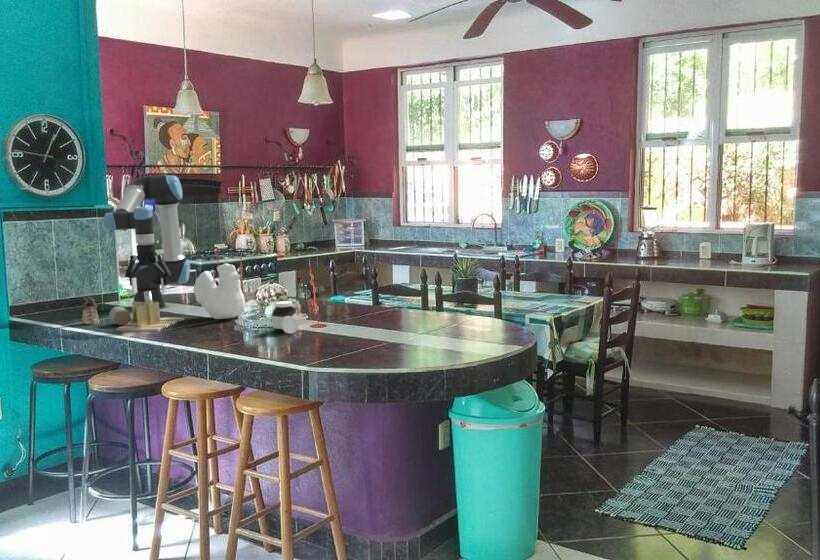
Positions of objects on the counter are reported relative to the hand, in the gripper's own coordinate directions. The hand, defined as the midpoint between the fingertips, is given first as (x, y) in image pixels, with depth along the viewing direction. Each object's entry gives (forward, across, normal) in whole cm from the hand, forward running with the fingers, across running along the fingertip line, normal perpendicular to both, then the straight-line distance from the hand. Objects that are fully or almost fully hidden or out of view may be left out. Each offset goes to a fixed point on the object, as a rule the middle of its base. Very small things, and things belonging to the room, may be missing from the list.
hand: (149, 293), depth 333 cm
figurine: (+14, -32, +5) cm, 35 cm away
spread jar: (+14, +65, -12) cm, 68 cm away
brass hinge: (+13, -4, -3) cm, 14 cm away
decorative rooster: (+14, +24, +18) cm, 33 cm away
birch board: (+14, -1, +1) cm, 14 cm away
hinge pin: (+13, 0, 0) cm, 13 cm away
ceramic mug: (+14, -16, +4) cm, 22 cm away
